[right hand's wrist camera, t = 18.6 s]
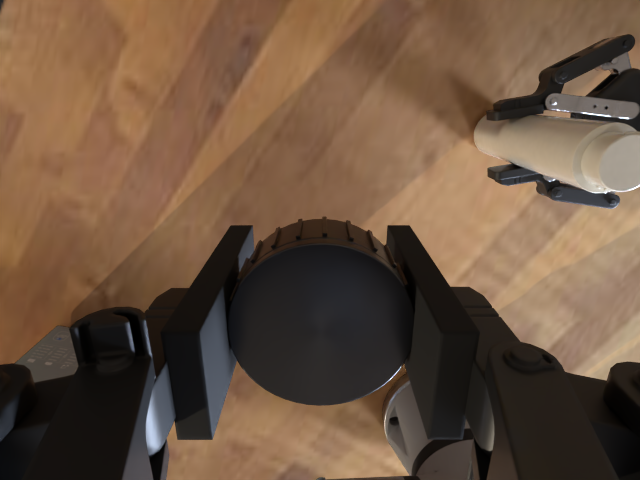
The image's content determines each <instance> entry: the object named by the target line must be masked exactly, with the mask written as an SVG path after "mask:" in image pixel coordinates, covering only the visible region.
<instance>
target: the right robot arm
mask: <svg viewBox="0 0 640 480" xmlns="http://www.w3.org/2000/svg"><path fill="white" fill-rule="evenodd" d="M386 245H387V246H388V247H389V249H390V252H391V254H392V256H393V258H394V261H395V263H399V265H400V267H401V269H402V271H403V273H404V276H405V278H406V280H407V282H408V284H409V287H408V288H407V291H408V293H409V295H410V298H411V300H412V303H413V307H414V311H415V315H414V327H413V338H412V347H411V350H410V352H409V355H408V357H407V358H406V360H405V362H404V364H405V367H406V371H407V373H406V374H405V375H404V376H402V377H401V378H400V379H399V380H398V381H397V382H396V383H395V384H394V385H393V386H392V388H391V389H390V391H389V392H388V394H387V396H386V398H385V401H384V404H383V410H382V417H383V424H384V429H385V434H386V437H387V440H388V442H389V444H390V445H391V447H392V448H393V450H394V451H395V453H396V455H397V456H398V458H399V459H400V461H401V462H402V464H403V466H404V467H405V469H406V470H407V472H408V473H409V475H410V476H394V477H371V478H349V479H327V480H640V363H636V362H622V363H616V364H615V365H614V366H613V367H611V369H610V372H609V375H608V378H607V381H605V380H600V379H595V378H590V377H585V376H580V375H575V374H571V373H567V372H565V371H564V369H563V367H562V365H561V364H560V363H559V362H558V360H557V359H556V358H555V357H554V356H552V355H551V354H549V353H548V352H546V351H545V350H543V349H541V348H538V347H536V346H534V345H531V344H527V343H523V342H520V341H519V340H518V338H517V337H516V336H515V335H514V333H513V332H512V331H511V330H510V328H509V327H508V326H507V325H506V323H505V322H504V321H503V319H502V318H501V317H499V314H498V313H497V312H496V311H495V309H494V308H492V306H491V304H490V303H489V302H488V301H487V299H486V298H485V297H484V296H483V295H482V294H480V293H478V292H477V291H475V290H473V289H472V288H470V287H450V286H449V284H448V283H447V281H446V280H445V278H444V277H443V275H442V274H441V272H440V271H439V269H438V268H437V266H436V265H435V263H434V262H433V260H432V259H431V257H430V256H429V254H428V253H427V251H426V250H425V248H424V247H423V245H422V244H421V242H420V241H419V239H418V238H417V236H416V235H415V233H414V232H413V230H412V229H411V227H410V226H409V225H388V227H387V244H386ZM253 252H254V240H253V225H231V226H230V227H229V229H228V230H227V232H226V233H225V235H224V237H223V238H222V240H221V241H220V243H219V244H218V246H217V247H216V249H215V250H214V252H213V253H212V255H211V256H210V258H209V259H208V261H207V262H206V264H205V265H204V267H203V268H202V270H201V271H200V273H199V274H198V276H197V277H196V279H195V280H194V282H193V283H192V285H191V286H190V288H171V289H169V290H168V291H166V292H164V293H163V294H161V295H160V296H158V297H157V298H156V299H155V300H154V301H153V303H152V304H151V305H150V307H149V310H146V312H145V313H143V312H142V311H141V310H140V309H136V308H132V307H114V308H109V309H104V310H100V311H97V312H94V313H92V314H89V315H87V316H85V317H83V318H81V319H80V320H78V321H76V322H75V323H74V324H73V325H72V326H71V327H70V328H69V331H70V335H71V339H72V343H73V347H74V351H75V355H76V359H77V362H78V368H77V370H76V372H75V374H73V375H69V376H65V377H60V378H54V379H49V380H44V381H39V382H34V381H33V377H32V374H31V371H30V369H28V368H27V367H26V366H25V365H20V364H4V365H0V480H166V477H167V469H168V461H169V450H168V444H167V436H168V434H169V431H170V429H171V427H172V424H173V422H174V421H175V427H176V433H177V439H178V440H213V436H214V433H215V430H216V427H217V423H218V420H219V417H220V414H221V410H222V407H223V404H224V401H225V397H226V394H227V391H228V388H229V384H230V381H231V378H232V375H233V371H234V368H235V365H236V362H237V359H236V357H235V355H234V353H233V351H232V348H231V345H230V342H229V338H228V330H227V316H228V311H229V306H230V303H229V299H230V297H231V295H232V292H233V290H234V288H235V285H236V283H237V282H236V280H237V277H238V275H239V273H240V271H241V268H242V266H243V264H244V262H245V259H246V258H250V256H251V255H252V254H253ZM316 480H326V479H325V478H324V477H320V478H318V479H316Z"/></svg>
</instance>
